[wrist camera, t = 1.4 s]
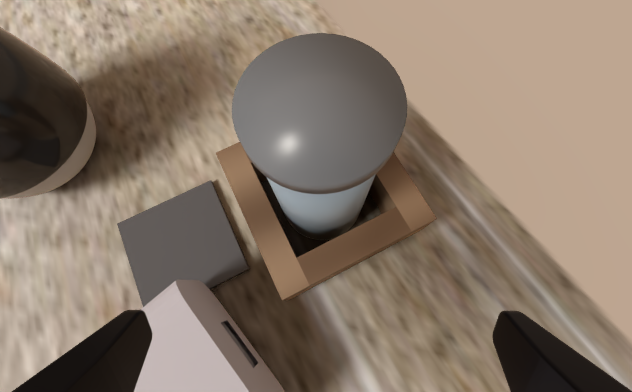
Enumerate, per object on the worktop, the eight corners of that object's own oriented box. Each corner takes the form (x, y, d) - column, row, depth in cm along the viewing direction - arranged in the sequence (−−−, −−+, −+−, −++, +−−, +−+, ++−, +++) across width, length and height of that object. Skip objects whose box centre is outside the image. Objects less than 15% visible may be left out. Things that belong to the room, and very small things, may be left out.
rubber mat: (249, 268, 21) (248, 268, 21) (150, 319, 20) (147, 319, 20) (212, 182, 23) (210, 180, 23) (120, 225, 22) (117, 223, 22)
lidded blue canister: (381, 219, 22) (442, 135, 11) (302, 260, 21) (276, 216, 10) (339, 148, 24) (353, 11, 12) (264, 183, 23) (206, 72, 12)
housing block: (419, 230, 22) (436, 218, 18) (288, 300, 21) (281, 300, 17) (349, 118, 25) (353, 90, 21) (231, 173, 23) (215, 152, 20)
